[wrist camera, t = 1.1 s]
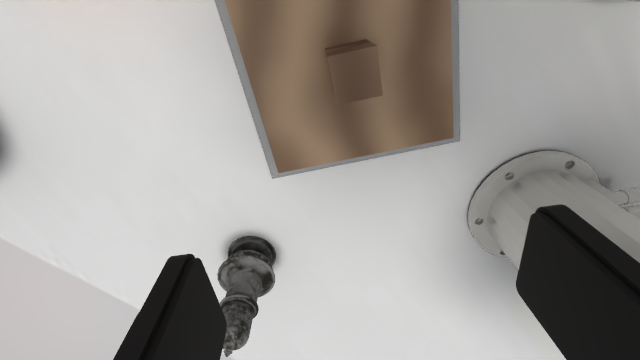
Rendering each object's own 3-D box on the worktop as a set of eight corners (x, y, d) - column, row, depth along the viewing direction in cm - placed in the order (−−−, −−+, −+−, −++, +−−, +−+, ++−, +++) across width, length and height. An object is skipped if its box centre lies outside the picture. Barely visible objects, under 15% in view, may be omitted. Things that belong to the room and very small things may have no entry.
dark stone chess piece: (214, 249, 36) (173, 350, 25) (256, 225, 35) (231, 322, 24) (248, 281, 38) (222, 386, 28) (288, 260, 37) (278, 362, 26)
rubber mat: (455, -105, 22) (457, -106, 22) (458, 139, 30) (459, 141, 30) (203, -38, 23) (202, -39, 23) (272, 177, 32) (272, 178, 32)
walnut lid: (442, -84, 22) (482, -112, 17) (448, 133, 30) (477, 160, 24) (220, -26, 24) (193, -35, 18) (279, 167, 31) (272, 200, 26)
